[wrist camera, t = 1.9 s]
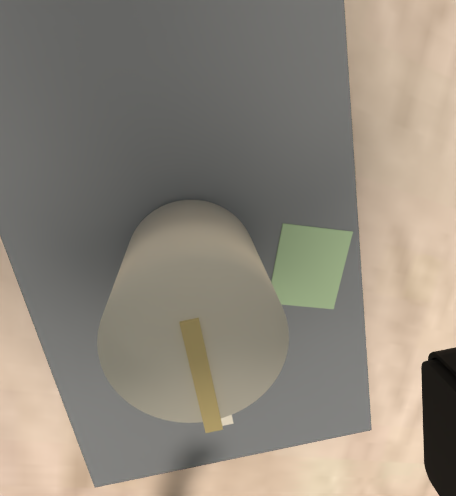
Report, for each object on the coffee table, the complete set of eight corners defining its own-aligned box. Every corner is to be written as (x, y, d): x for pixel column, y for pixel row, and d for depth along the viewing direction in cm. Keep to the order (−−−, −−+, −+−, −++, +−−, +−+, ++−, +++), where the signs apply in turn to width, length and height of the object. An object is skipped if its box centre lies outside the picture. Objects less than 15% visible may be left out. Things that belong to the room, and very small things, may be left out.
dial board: (-71, -13, 15) (-99, -25, 13) (323, -80, 15) (338, -98, 14) (100, 462, 23) (94, 488, 21) (360, 409, 23) (371, 431, 22)
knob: (114, 209, 17) (71, 280, 10) (242, 184, 17) (277, 240, 10) (163, 388, 19) (152, 528, 13) (270, 366, 20) (311, 495, 13)
